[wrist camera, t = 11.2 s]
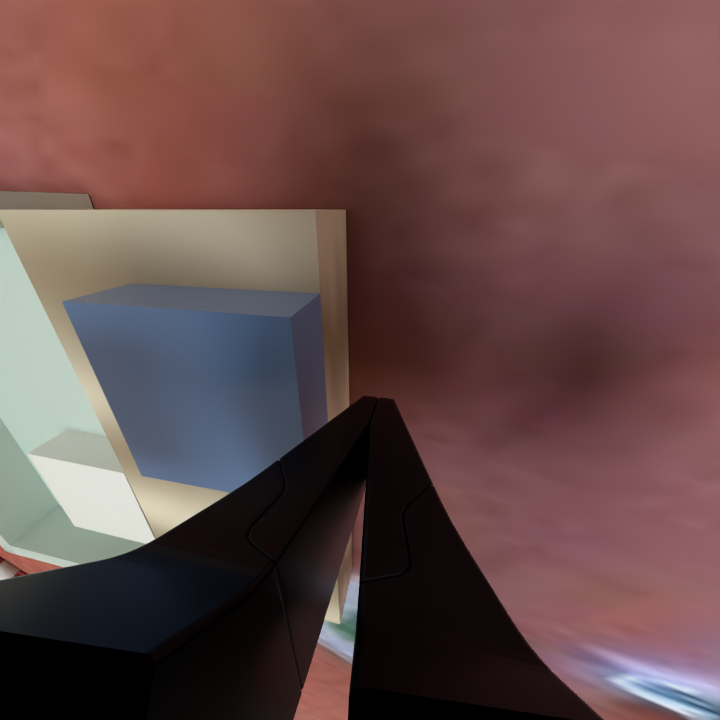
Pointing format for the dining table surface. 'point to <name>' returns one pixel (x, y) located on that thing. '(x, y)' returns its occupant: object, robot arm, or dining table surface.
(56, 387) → the tray
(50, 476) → the white tile
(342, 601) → the beige flat block
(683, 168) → the dining table surface
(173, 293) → the blue tile
